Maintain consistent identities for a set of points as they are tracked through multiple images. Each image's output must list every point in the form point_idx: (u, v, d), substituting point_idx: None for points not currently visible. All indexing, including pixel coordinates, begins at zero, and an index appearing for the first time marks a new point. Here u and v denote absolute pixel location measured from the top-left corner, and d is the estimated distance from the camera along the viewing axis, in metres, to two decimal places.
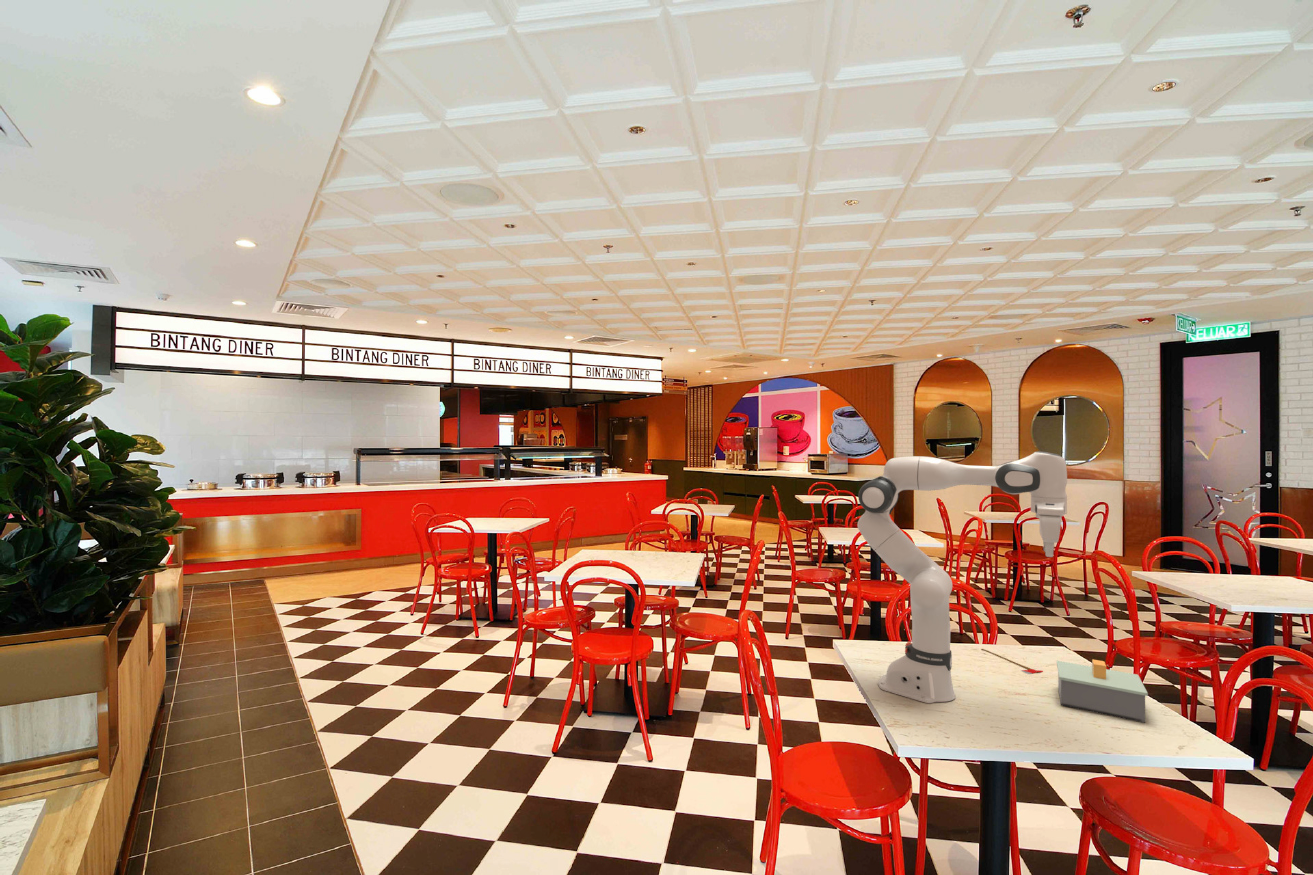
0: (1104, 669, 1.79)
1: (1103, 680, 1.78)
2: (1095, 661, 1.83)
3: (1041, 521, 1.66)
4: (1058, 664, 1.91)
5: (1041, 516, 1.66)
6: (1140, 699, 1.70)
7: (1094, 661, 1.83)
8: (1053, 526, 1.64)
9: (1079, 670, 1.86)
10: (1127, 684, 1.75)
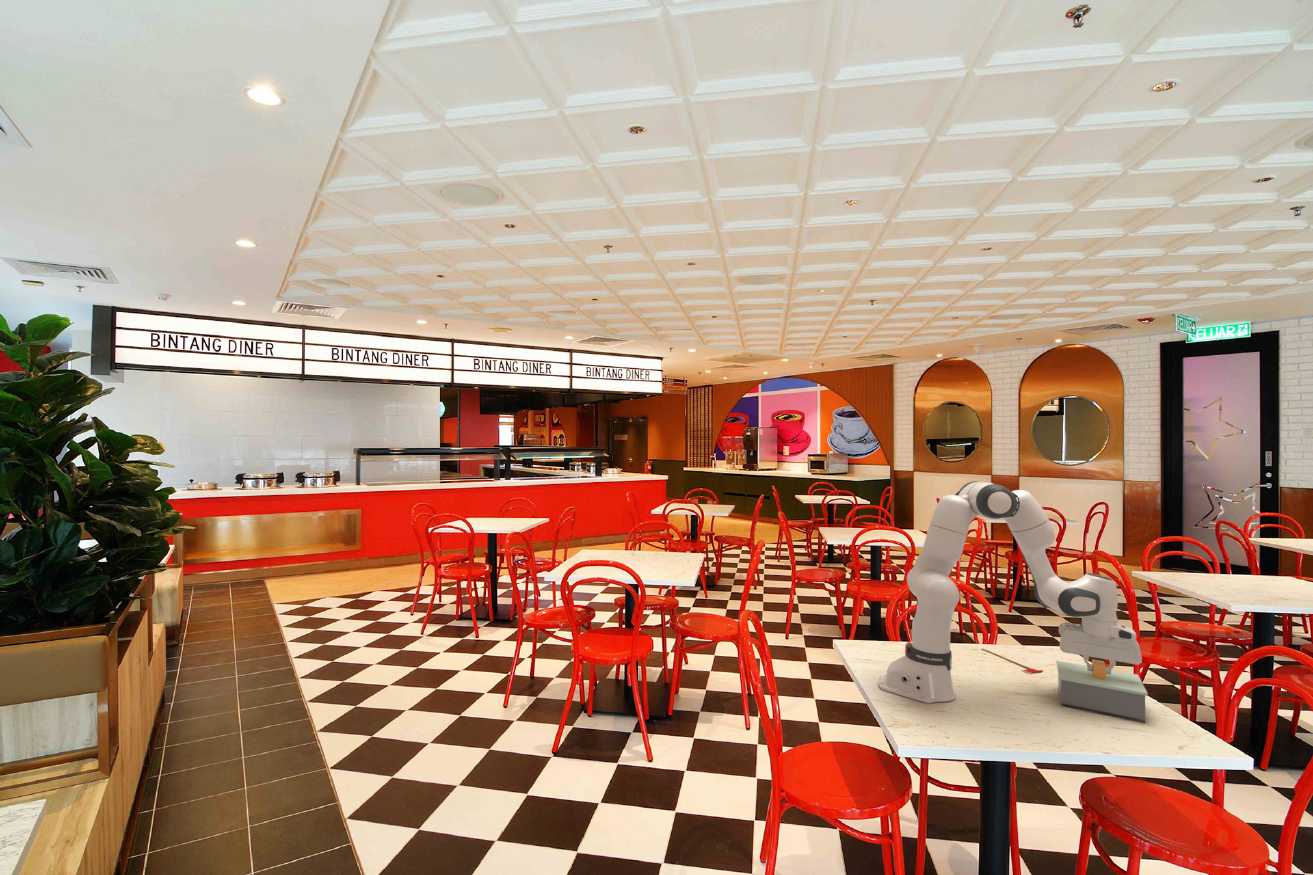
0: (1104, 669, 1.79)
1: (1103, 680, 1.78)
2: (1095, 661, 1.83)
3: (1139, 646, 1.75)
4: (1058, 664, 1.91)
5: (1135, 641, 1.76)
6: (1140, 699, 1.70)
7: (1094, 661, 1.83)
8: None
9: (1079, 670, 1.86)
10: (1127, 684, 1.75)
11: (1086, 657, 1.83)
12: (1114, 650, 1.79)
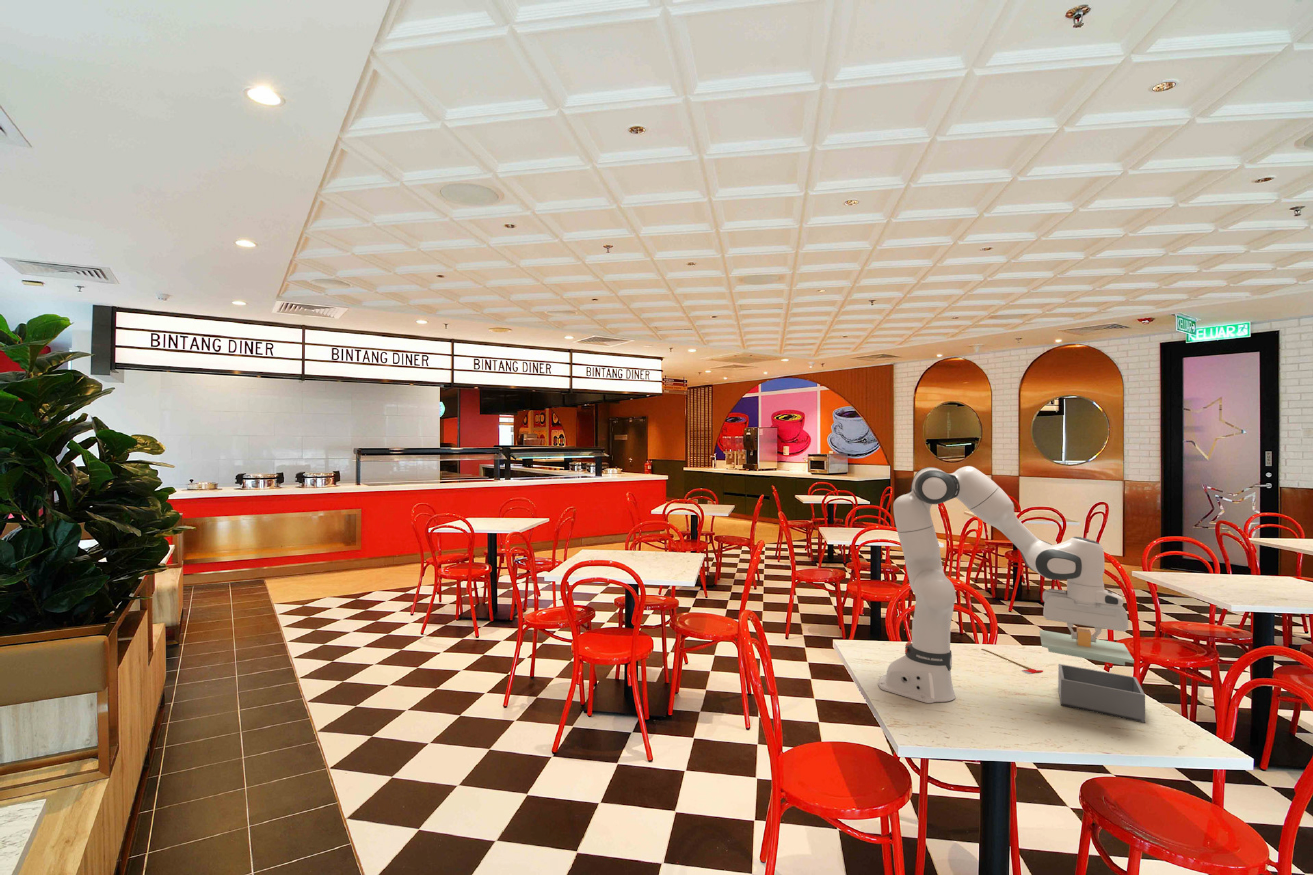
0: (1089, 636, 1.71)
1: (1087, 648, 1.69)
2: (1079, 628, 1.75)
3: (1125, 612, 1.67)
4: (1041, 633, 1.82)
5: (1122, 607, 1.67)
6: (1140, 699, 1.70)
7: (1079, 629, 1.74)
8: None
9: (1063, 638, 1.78)
10: (1112, 652, 1.67)
11: (1070, 624, 1.74)
12: (1099, 617, 1.70)
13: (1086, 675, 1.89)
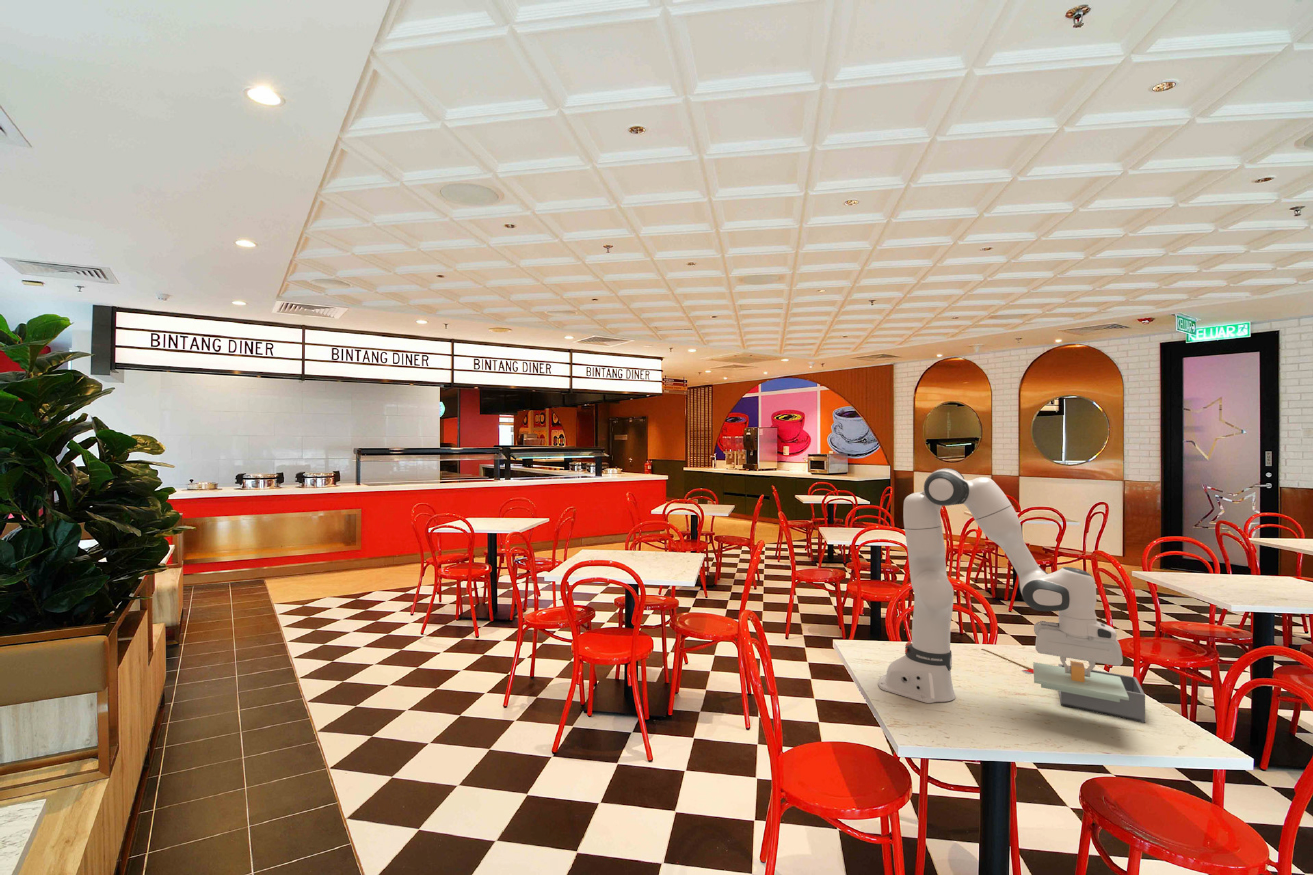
0: (1082, 671, 1.65)
1: (1081, 684, 1.64)
2: (1073, 662, 1.69)
3: (1119, 646, 1.61)
4: (1034, 666, 1.77)
5: (1115, 640, 1.62)
6: (1140, 699, 1.70)
7: (1072, 662, 1.69)
8: None
9: (1056, 672, 1.72)
10: (1107, 687, 1.61)
11: (1063, 658, 1.69)
12: (1093, 651, 1.65)
13: None
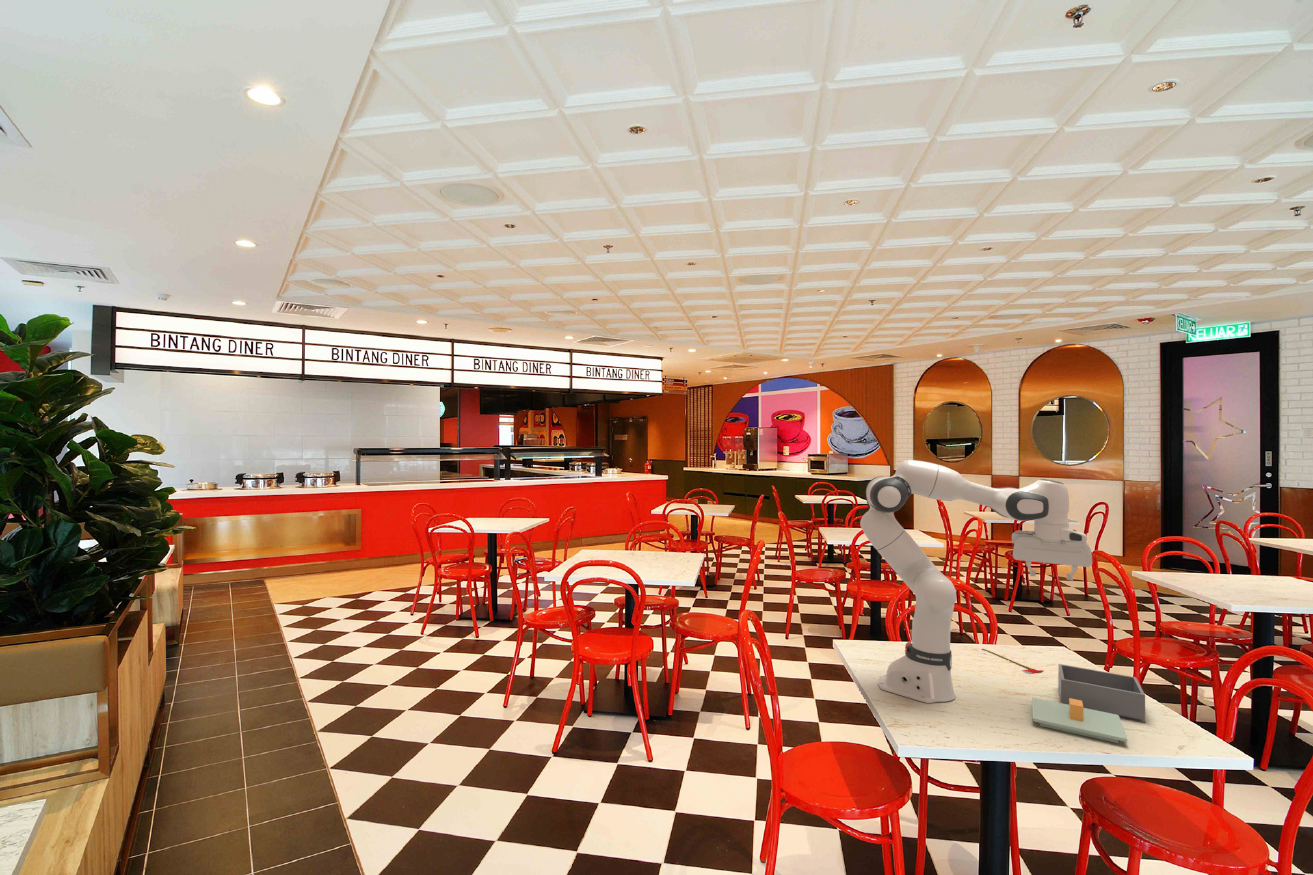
0: (1081, 710, 1.65)
1: (1080, 723, 1.63)
2: (1072, 700, 1.69)
3: (1089, 548, 1.73)
4: (1033, 702, 1.77)
5: (1086, 543, 1.74)
6: (1140, 699, 1.70)
7: (1071, 700, 1.69)
8: None
9: (1055, 709, 1.72)
10: (1106, 727, 1.61)
11: (1028, 562, 1.82)
12: (1065, 554, 1.77)
13: (1086, 675, 1.89)
